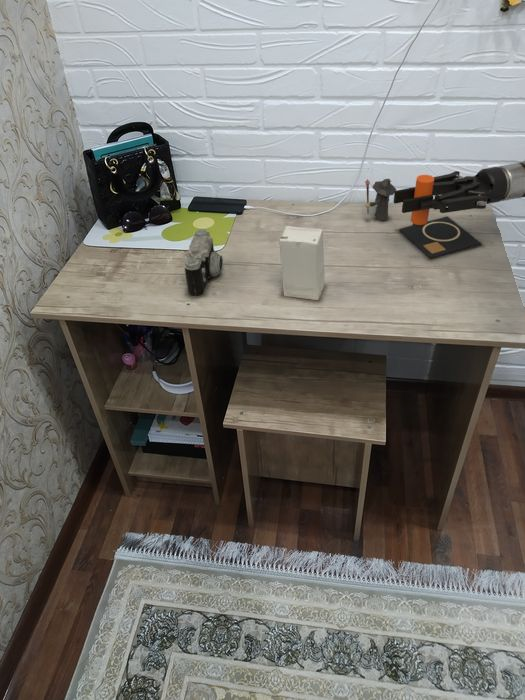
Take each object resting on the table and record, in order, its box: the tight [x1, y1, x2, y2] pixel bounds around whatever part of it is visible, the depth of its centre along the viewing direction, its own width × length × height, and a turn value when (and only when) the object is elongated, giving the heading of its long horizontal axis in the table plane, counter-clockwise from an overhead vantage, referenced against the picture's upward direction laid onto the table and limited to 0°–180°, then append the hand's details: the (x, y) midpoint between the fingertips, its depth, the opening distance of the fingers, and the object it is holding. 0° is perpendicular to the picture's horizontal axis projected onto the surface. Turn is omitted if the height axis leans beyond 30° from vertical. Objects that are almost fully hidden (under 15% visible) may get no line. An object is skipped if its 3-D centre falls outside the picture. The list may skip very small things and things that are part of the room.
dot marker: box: [410, 174, 435, 228], centre depth 123 cm, size 4×4×11 cm
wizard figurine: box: [364, 178, 397, 221], centre depth 144 cm, size 8×6×12 cm
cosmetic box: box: [278, 225, 325, 301], centre depth 122 cm, size 8×6×15 cm
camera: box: [183, 228, 224, 298], centre depth 129 cm, size 15×7×10 cm, turn 173°
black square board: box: [398, 216, 482, 260], centre depth 140 cm, size 14×14×1 cm
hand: (399, 201), depth 121 cm, fingers closed on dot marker, 4 cm apart
